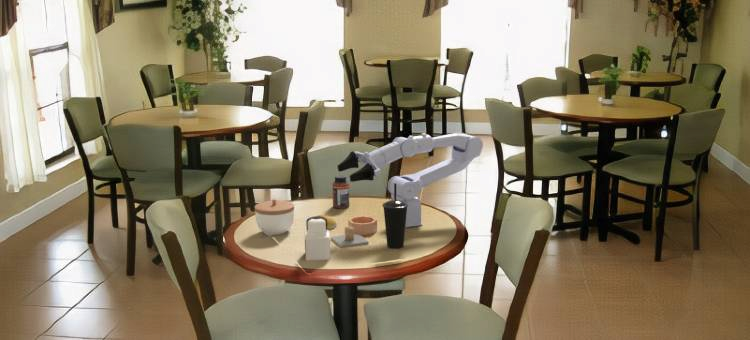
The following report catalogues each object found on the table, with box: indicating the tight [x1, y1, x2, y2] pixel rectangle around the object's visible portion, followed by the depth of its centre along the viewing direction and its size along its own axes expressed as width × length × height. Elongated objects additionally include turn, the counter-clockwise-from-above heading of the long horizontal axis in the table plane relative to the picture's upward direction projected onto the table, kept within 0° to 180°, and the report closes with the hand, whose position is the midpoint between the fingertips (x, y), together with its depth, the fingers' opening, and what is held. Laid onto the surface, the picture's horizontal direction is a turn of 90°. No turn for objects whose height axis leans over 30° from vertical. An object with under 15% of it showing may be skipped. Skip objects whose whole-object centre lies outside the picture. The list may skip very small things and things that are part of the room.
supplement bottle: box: [332, 174, 350, 209], centre depth 276 cm, size 6×6×11 cm
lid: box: [330, 226, 370, 248], centre depth 237 cm, size 9×9×4 cm
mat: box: [330, 236, 373, 251], centre depth 237 cm, size 11×11×1 cm
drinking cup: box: [382, 183, 408, 250], centre depth 231 cm, size 8×8×20 cm
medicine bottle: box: [304, 215, 331, 261], centre depth 224 cm, size 7×7×12 cm
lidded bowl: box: [254, 198, 295, 237], centre depth 247 cm, size 13×13×11 cm
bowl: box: [347, 215, 378, 236], centre depth 248 cm, size 9×9×4 cm
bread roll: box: [317, 214, 338, 231], centre depth 253 cm, size 8×9×4 cm
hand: (344, 173), depth 241 cm, fingers open, 7 cm apart
